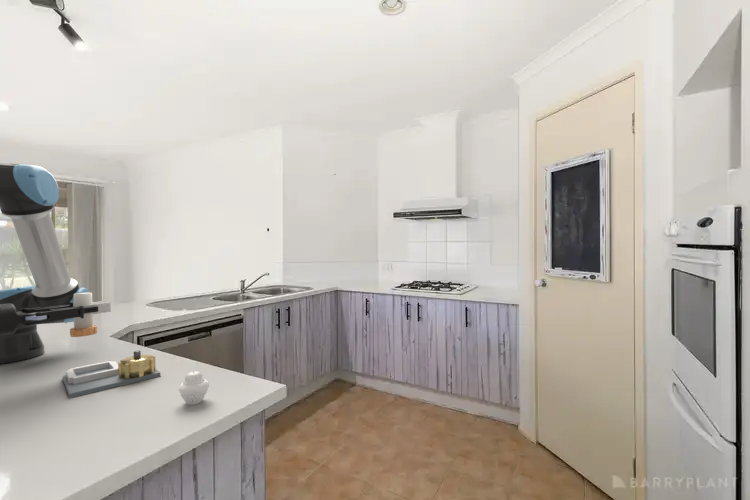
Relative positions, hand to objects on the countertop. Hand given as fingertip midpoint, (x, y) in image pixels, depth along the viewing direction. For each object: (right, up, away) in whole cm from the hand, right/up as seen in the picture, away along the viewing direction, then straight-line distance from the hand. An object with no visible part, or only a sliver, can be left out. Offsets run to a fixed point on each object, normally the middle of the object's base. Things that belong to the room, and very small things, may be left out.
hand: (105, 306), depth 103 cm
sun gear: (+13, -18, -6) cm, 24 cm away
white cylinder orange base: (-3, -7, -5) cm, 9 cm away
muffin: (+38, -18, -23) cm, 48 cm away
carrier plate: (+6, -19, -6) cm, 21 cm away
